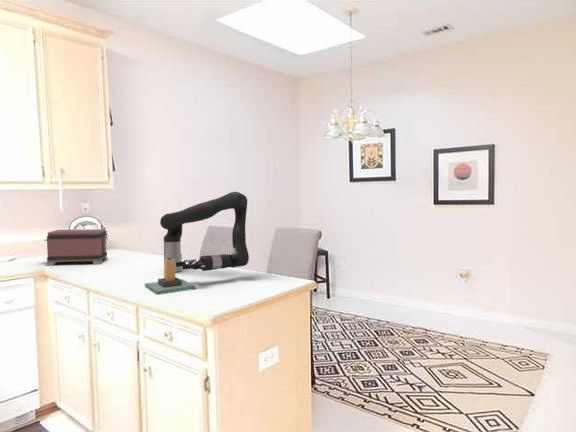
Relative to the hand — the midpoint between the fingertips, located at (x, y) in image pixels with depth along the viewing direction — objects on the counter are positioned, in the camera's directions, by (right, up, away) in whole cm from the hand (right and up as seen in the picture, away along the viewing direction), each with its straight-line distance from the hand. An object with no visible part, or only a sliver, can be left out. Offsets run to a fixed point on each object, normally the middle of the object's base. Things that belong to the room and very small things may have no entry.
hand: (179, 265), depth 192 cm
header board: (-4, -10, -2) cm, 11 cm away
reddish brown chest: (-83, -6, +64) cm, 105 cm away
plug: (-4, -9, -2) cm, 10 cm away
